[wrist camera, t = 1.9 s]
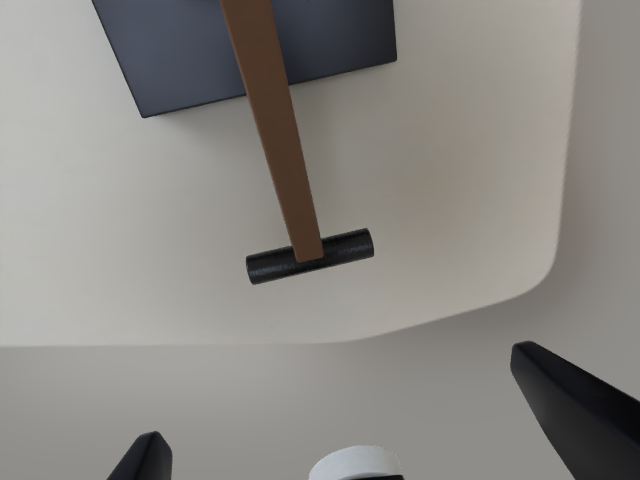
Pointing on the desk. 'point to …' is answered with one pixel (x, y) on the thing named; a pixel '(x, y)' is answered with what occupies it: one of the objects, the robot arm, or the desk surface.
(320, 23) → the bracket
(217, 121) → the desk surface
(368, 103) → the desk surface
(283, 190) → the lever
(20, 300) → the desk surface
